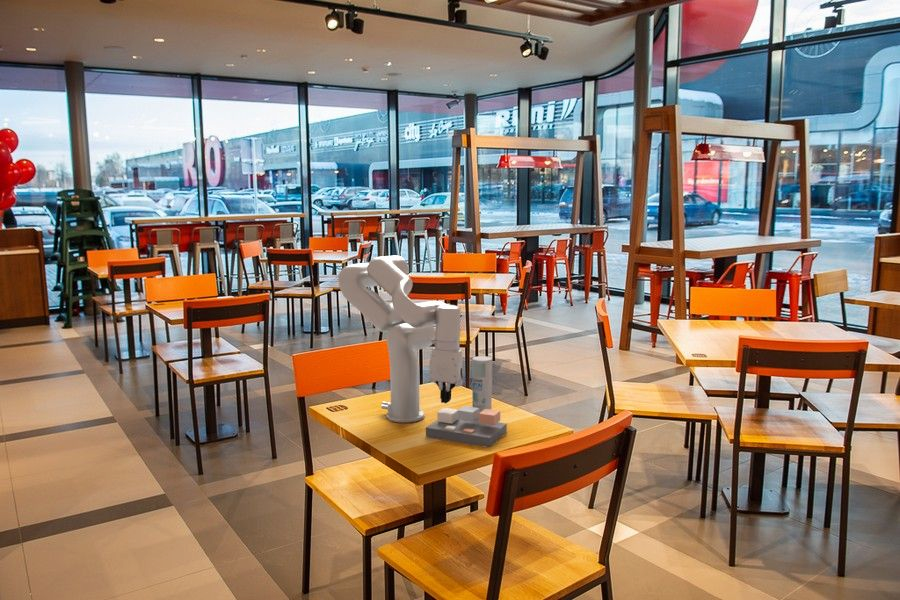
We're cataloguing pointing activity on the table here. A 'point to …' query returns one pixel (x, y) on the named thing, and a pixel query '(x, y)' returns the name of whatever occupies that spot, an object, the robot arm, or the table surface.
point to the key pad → (467, 432)
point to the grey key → (468, 413)
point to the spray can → (482, 382)
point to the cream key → (447, 415)
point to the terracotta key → (489, 416)
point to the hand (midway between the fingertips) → (445, 401)
